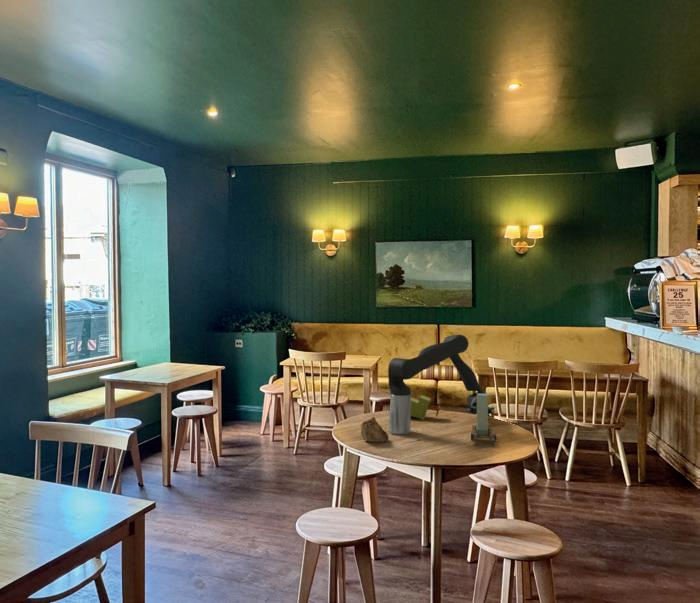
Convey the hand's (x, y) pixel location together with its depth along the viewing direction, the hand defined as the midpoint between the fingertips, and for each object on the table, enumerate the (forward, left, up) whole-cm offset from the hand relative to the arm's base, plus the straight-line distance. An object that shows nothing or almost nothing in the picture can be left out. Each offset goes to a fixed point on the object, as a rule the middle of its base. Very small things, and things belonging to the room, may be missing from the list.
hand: (481, 413), depth 227 cm
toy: (-22, +31, -9) cm, 39 cm away
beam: (-2, -8, -9) cm, 12 cm away
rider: (-1, -2, -9) cm, 9 cm away
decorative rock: (-50, -11, -9) cm, 52 cm away
